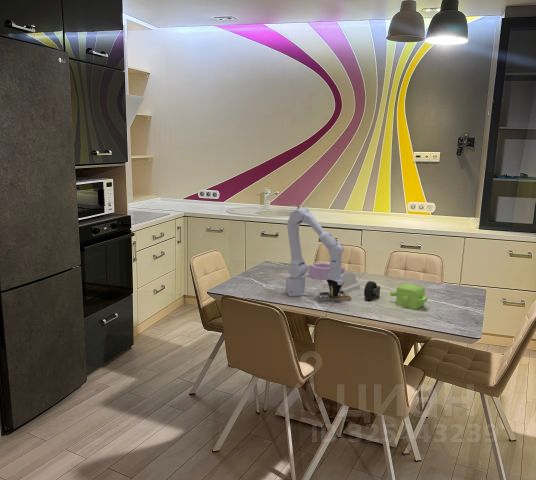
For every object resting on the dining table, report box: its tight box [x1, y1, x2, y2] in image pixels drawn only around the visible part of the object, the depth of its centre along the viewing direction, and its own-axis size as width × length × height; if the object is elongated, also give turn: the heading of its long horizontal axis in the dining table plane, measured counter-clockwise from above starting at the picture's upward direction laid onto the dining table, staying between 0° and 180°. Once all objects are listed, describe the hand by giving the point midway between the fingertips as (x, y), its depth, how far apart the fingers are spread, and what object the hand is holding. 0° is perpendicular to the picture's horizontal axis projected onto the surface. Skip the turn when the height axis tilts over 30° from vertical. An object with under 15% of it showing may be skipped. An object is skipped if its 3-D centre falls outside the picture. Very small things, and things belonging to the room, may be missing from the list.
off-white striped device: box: [339, 272, 361, 294], centre depth 263 cm, size 17×5×10 cm, turn 139°
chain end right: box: [328, 293, 352, 302], centre depth 246 cm, size 10×6×2 cm, turn 104°
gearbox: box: [389, 283, 428, 310], centre depth 238 cm, size 18×10×10 cm, turn 48°
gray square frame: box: [318, 291, 331, 295], centre depth 251 cm, size 5×5×1 cm
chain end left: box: [316, 294, 342, 303], centre depth 244 cm, size 10×6×2 cm, turn 104°
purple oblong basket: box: [308, 262, 345, 281], centre depth 285 cm, size 20×12×7 cm, turn 59°
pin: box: [330, 285, 340, 298], centre depth 245 cm, size 4×4×7 cm
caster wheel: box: [363, 280, 381, 301], centre depth 249 cm, size 6×10×15 cm
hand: (334, 295), depth 245 cm, fingers closed on pin, 3 cm apart
